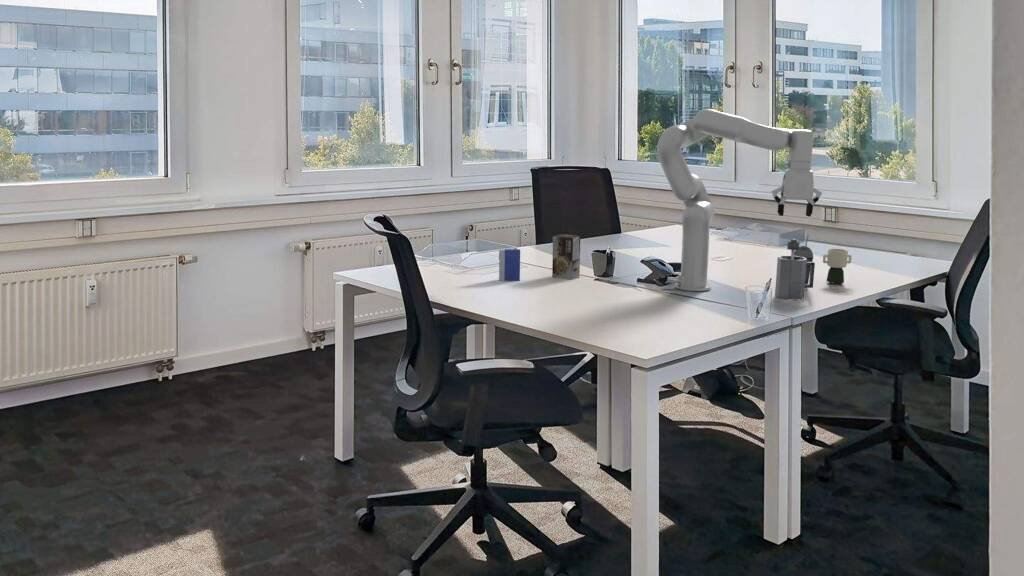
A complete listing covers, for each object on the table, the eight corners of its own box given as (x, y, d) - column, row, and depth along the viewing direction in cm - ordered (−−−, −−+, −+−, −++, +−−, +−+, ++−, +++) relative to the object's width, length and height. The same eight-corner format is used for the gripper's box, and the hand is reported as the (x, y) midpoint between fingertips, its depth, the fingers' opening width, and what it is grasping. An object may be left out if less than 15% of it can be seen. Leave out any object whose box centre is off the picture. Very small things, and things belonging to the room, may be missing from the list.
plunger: (783, 296, 320) (787, 240, 316) (777, 292, 326) (781, 237, 322) (801, 296, 320) (806, 240, 316) (795, 293, 326) (799, 237, 322)
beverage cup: (795, 284, 345) (799, 232, 341) (814, 287, 340) (818, 234, 336) (787, 287, 339) (791, 234, 335) (806, 290, 335) (810, 236, 331)
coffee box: (580, 277, 354) (581, 235, 350) (572, 279, 348) (573, 237, 345) (559, 274, 358) (560, 233, 355) (551, 277, 353) (552, 235, 350)
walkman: (519, 279, 347) (519, 248, 345) (519, 280, 345) (520, 249, 342) (498, 279, 347) (498, 248, 344) (498, 280, 344) (499, 249, 342)
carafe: (780, 299, 318) (783, 260, 315) (772, 294, 327) (774, 255, 325) (816, 300, 319) (819, 260, 316) (806, 294, 328) (809, 255, 325)
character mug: (845, 281, 352) (848, 248, 350) (852, 285, 345) (856, 251, 343) (817, 281, 352) (820, 248, 349) (824, 285, 345) (827, 251, 342)
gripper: (777, 166, 310) (773, 216, 313) (828, 167, 310) (823, 217, 314) (770, 164, 317) (766, 213, 321) (820, 166, 318) (815, 215, 321)
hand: (794, 215), depth 317 cm, fingers open, 9 cm apart
